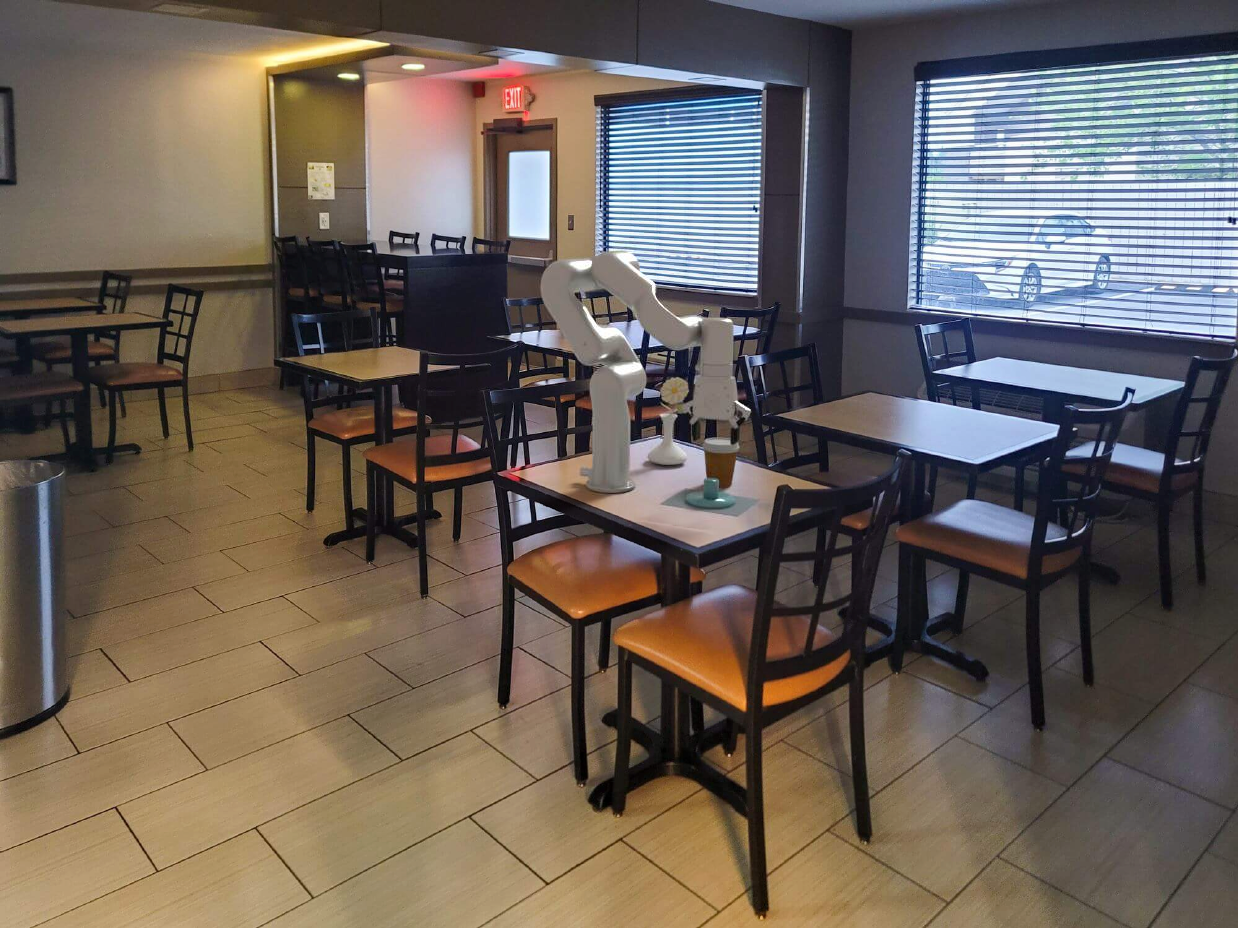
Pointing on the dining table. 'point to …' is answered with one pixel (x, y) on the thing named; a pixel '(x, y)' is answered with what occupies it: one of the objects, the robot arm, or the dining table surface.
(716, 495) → the lid
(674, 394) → the flower in vase
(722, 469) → the disposable coffee cup
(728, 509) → the mat
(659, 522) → the dining table surface
